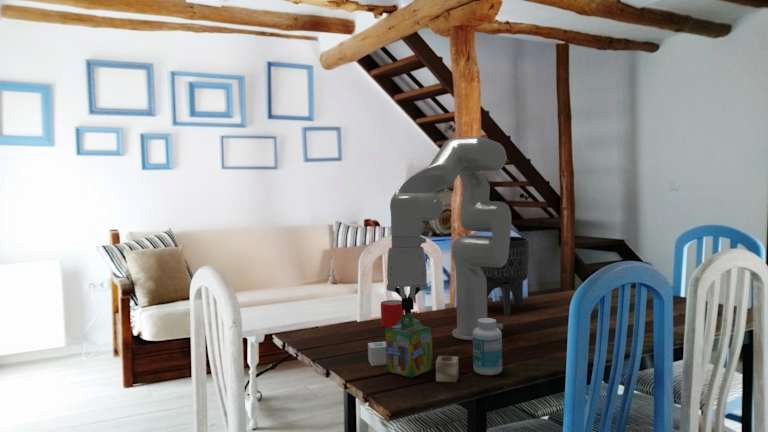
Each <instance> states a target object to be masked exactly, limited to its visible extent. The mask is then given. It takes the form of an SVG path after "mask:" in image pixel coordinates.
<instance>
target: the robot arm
mask: <svg viewBox="0 0 768 432" xmlns="http://www.w3.org/2000/svg"><path fill="white" fill-rule="evenodd" d="M506 161H507V152H506V149H505V147H504V145H502V144H501V143H499V142H497V141H494V140H492V139H490V138H487V137H483V136H463V137H462V136H461V137H453V138H449V139H447V140H446V141H444V143H443V144H442V145H441V147H440V149H439V150H438V152H437V153H436V155H435V157H433V159H432V161H431V162H430V163H429V165H428V166H427V167H424V168H422V169H420V170H419V171H417V172H415V173H414V174H412V175H411V176H409V177H408V178H406V179H404V181H403V182H401V184H400V185H399V186H398V187H397V189H396V191H395V192H394V193H393V196H392V197H391V199H390V204H389V209H390V229H391V231H390V232H391V235H390V236H391V237H390V238H391V247H388V252H387V258H386V260H387V263H386V266H387V267H386V279H387V280H386V281H387V283H386V290H387V291H388V292H392V293H396V294H397V295H398V296H399V297H400V298H401V301H402V310H404V315H405V314H407V313H409V314H411V315H412V310H414V308H415V307H414V298H415V297H416V296H417V294H419V293H420V292H422V291H426V290H428V289H429V287H428V283H427V281H428V277H427V276H428V275H427V273H428V272H427V263H426V262H427V261H426V257H425V256H426V255H425V249H424V246H422V244H425V243H427V237H422V236H421V222H433V221H435V220H437V219H439V217H440V216H441V214H442V212H443V208H444V206H443V201H442V199H441V198H440V197H439V195H437V194H435V193H436V192H439V191H442V190H445V189H447V188H449V187H451V186H452V185H453V184H454V183H455V181H456V180H457V179H458V178H457V177H458V176H459V178H460V180H461V184H462V185H461V186H462V194H461V204H460V205H461V206H460V222H459V223H460V225H461V228H462V229H464V230H466V231H468V232H478V233H479V232H480V233H481V232H484V233H491V235H472V234H471V235H470V234H469V235H461V236H458V237H456V238H455V239H454V241H453V243H452V247H451V251H452V253H451V254H452V259H453V262H454V263H453V264H454V269H455V283H456V285H455V288H456V290H455V294H456V328H454V329H453V330H452V336H453V337H454V338H455V339H456V338H457V339H460V340H466V341H473V331H474V329H475V328H477V327H479V326H478V319H481V318H488V300H487V280H486V277H485V274H484V273H483V271H482V269H481V268H480V267H495V268H499V267H503V266H504V265H505V264H506V262H507V260H508V255H509V245H510V236H511V231H512V211H511V209H510V207H509V205H508V204H507V203H506V202H503V201H495V200H494V201H492V200H491V201H490V192H491V191H490V190H491V188H490V187H491V185H490V183H489V181H488V179H487V178H486V177H485V175H484V174H483V173H482V172H497V171H499V170H501V169H503V167H505V165H506ZM405 287H406V288H407V287H409V291H408V292H409V293H408V295H407V294H406V291H405ZM503 324H504V323H502V322H497V321H496V326H495V327H496V328H498V329H499V330H503V329H504V325H503Z"/></svg>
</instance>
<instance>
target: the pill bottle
mask: <svg viewBox="0 0 768 432" xmlns="http://www.w3.org/2000/svg"><path fill="white" fill-rule="evenodd" d="M496 322H497V319H495V318H491V317H487V318H481V319H478V326H479V327H477V328H475V329H474V331H473V340H472V365H473V366H472V367H473V371H474V372H475V373H477V374H479V375H484V376H494V375H498V374H500V373H502V371H503V333H502V331H501V329H498V328H496V327H495V326H496Z"/></svg>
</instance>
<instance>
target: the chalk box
mask: <svg viewBox="0 0 768 432" xmlns="http://www.w3.org/2000/svg"><path fill="white" fill-rule="evenodd" d="M412 318H413V316H412V313H411V314H406V315H405V314H404V315H403V316H400V321H401V324H399V325H396V326H392V327H389V328H385V329H384V331H385V333H384V334H385V335H384V337H385V342H386V365H385V366H386V372H388V373H392V374H395V375H400V376H404V377H408V378H412V379H413V378H415V377H417V376H419V375H421V374H425V373H427V372H431V371H433V369H434V368H433V367H434V366H433V362H434V360H433V328H432V327H431V326H426V325H423V324H422V325H423V326H422V325H419V324H413V320H412ZM405 319H409V321H410V322H409V323H404V320H405Z"/></svg>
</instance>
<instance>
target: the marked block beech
mask: <svg viewBox="0 0 768 432" xmlns="http://www.w3.org/2000/svg"><path fill="white" fill-rule="evenodd" d="M459 375H460V374H459V356H455V355H454V356H452V355H451V356H449V355H438V356H437V359H436V361H435V381H436V382H443V383H457V381H458V378H459Z"/></svg>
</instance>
